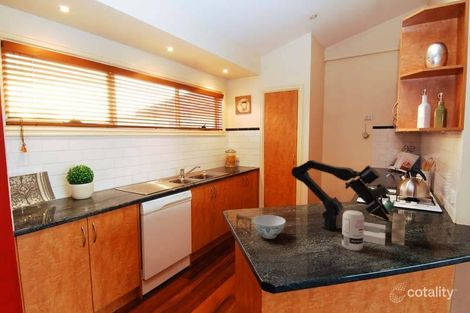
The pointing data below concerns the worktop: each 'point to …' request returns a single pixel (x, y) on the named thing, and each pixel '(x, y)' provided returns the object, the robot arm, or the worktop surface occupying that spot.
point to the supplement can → (352, 230)
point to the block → (398, 228)
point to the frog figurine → (389, 206)
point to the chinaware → (269, 225)
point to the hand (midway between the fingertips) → (388, 216)
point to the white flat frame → (374, 233)
